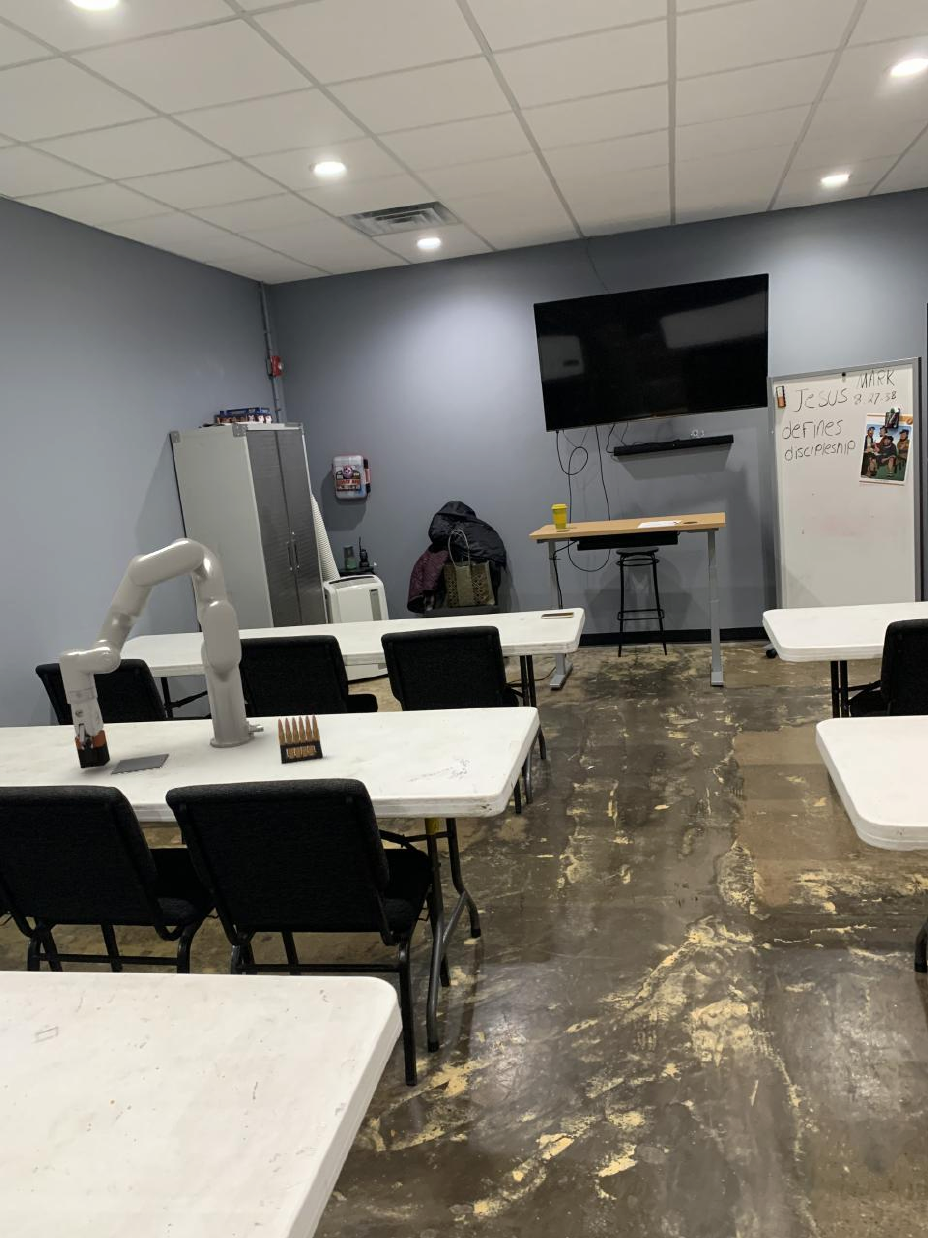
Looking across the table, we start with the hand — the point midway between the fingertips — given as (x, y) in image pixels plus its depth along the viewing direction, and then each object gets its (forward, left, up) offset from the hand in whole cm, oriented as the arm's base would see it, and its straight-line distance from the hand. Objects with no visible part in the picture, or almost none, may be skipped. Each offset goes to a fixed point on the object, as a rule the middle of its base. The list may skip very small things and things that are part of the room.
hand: (94, 758), depth 236 cm
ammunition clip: (-56, +17, -3) cm, 59 cm away
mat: (-12, +1, -3) cm, 12 cm away
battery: (0, 0, -2) cm, 2 cm away
